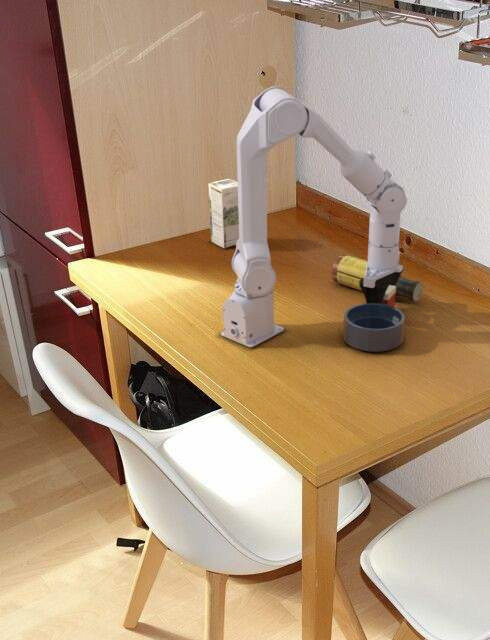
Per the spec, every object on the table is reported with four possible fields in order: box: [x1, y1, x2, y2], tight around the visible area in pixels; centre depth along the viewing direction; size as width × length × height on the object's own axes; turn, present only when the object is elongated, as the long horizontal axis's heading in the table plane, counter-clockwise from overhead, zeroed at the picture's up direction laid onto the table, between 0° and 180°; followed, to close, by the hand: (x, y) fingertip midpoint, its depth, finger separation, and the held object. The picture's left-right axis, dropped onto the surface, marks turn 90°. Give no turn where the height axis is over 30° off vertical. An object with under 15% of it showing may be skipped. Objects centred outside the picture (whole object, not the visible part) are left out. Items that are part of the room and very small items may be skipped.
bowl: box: [342, 302, 406, 353], centre depth 154 cm, size 11×11×5 cm
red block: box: [382, 285, 396, 308], centre depth 163 cm, size 4×4×6 cm
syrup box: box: [207, 178, 239, 250], centre depth 192 cm, size 6×6×14 cm
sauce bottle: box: [330, 254, 424, 302], centre depth 172 cm, size 7×6×20 cm
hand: (380, 307), depth 163 cm, fingers open, 6 cm apart
